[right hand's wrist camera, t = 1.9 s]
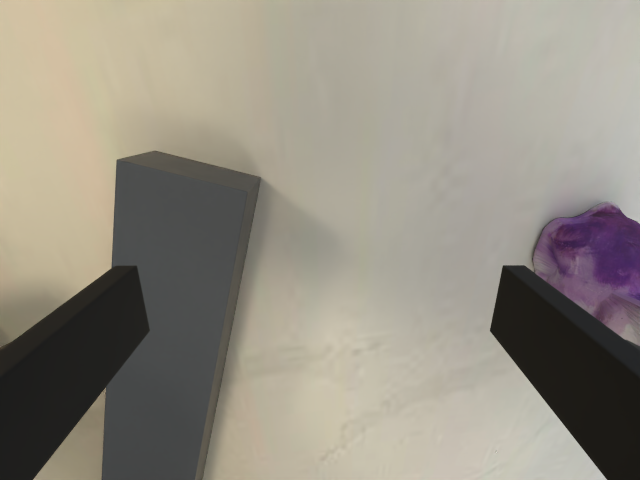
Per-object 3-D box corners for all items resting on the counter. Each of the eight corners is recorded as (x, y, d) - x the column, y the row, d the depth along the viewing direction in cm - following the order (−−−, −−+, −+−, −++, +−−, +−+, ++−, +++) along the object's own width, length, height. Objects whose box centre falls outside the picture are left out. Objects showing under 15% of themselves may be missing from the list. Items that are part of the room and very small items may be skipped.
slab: (154, 150, 33) (116, 159, 27) (261, 177, 34) (247, 191, 27) (122, 539, 53) (96, 594, 47) (188, 549, 54) (171, 605, 48)
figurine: (543, 311, 39) (671, 426, 25) (509, 239, 36) (632, 323, 22) (628, 270, 37) (818, 369, 23) (600, 191, 34) (799, 248, 20)
